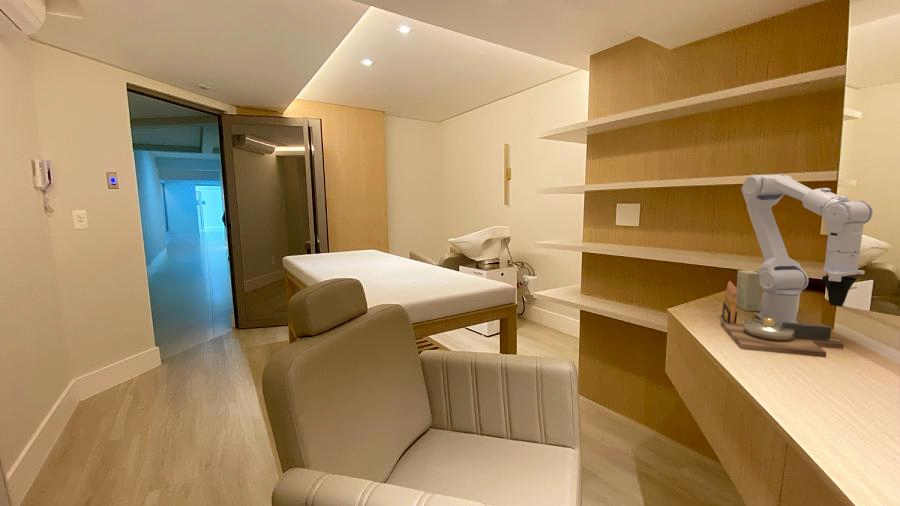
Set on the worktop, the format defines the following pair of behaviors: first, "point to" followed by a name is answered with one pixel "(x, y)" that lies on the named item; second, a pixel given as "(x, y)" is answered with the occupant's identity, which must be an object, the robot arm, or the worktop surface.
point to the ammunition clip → (730, 304)
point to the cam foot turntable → (785, 329)
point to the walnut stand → (780, 342)
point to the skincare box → (748, 290)
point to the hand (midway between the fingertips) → (836, 305)
